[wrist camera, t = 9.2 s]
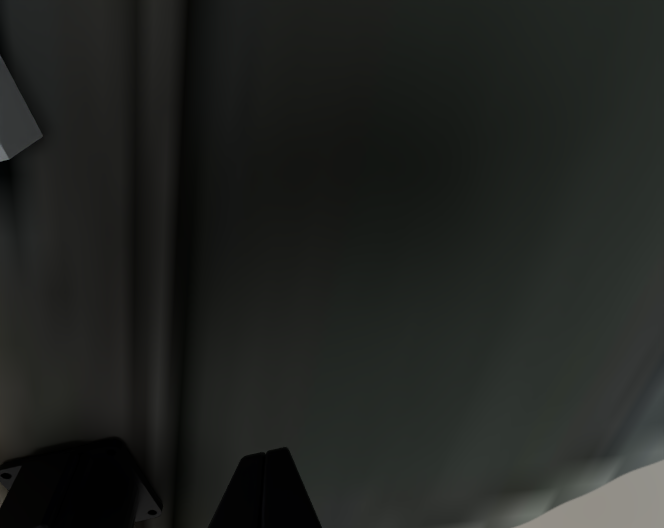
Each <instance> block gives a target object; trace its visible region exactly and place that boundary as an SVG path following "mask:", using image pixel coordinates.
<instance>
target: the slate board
mask: <svg viewBox="0 0 664 528" xmlns="http://www.w3.org/2000/svg"><path fill="white" fill-rule="evenodd" d="M42 137H43V135H42V133H41V131H40V129H39V127H38V125H37V123H36V121H35V119H34V118H33V116H32V114H31V112H30V110H29V108H28V106H27V104H26V103H25V101H24V99H23V97H22V95H21V93H20V91H19V89H18V87H17V86H16V84H15V82H14V80H13V78H12V76H11V74H10V72H9V70H8V69H7V67H6V65H5V63H4V61H3V59H2V57H1V55H0V161H4V160H9V159H11V158H12V157H14V156H15V155H16V154H18V153H19V152H21V151H22V150H24V149H25V148H27V147H28V146H30V145H31V144H33V143H34V142H36V141H37V140H39V139H40V138H42Z"/></svg>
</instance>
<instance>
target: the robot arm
mask: <svg viewBox="0 0 664 528" xmlns="http://www.w3.org/2000/svg"><path fill="white" fill-rule="evenodd" d="M0 482H1V483H2V484H3V485H4V486H5V488H6V489H7V490H8V491H9V492H8V494H7V496H6V497H5V499H4V501H3V503H2V505H1V507H0V528H133V526H134V522H137V521H142V520H146V519H151V518H155V517H158V516H160V515H161V513H162V508H163V505H162V503H161V501H160V500H159V498H158V497H157V495H156V494H155V492H154V491H153V489H152V488H151V486H150V485H149V483H148V482H147V480H146V479H145V477H144V475H143V474H142V472H141V471H140V469H139V468H138V466H137V465H136V463H135V462H134V460H133V459H132V457H131V456H130V454H129V453H128V451H127V450H126V448H125V447H124V445H123V444H122V443H121V442H120V441H118V440H107V441H102V442H98V443H94V444H89V445H85V446H80V447H76V448H71V449H67V450H62V451H58V452H53V453H49V454H44V455H40V456H35V457H31V458H26V459H22V460H17V461H13V462H8V463H4V464H2V465H1V466H0ZM208 528H322V526H321V524H320V522H319V519H318V517H317V515H316V512H315V510H314V508H313V505H312V503H311V501H310V498H309V496H308V494H307V491H306V489H305V487H304V484H303V482H302V479H301V477H300V475H299V472H298V470H297V468H296V465H295V463H294V461H293V458H292V456H291V454H290V451H289V449H288V448H287V447H283V448H278V449H274V450H269V451H268V452H267V453H266V454H265V453H263V452H260V453H256V454H251V455H247V456H244V457H243V458H242V459H241V460H240V462H239V464H238V466H237V469H236V471H235V473H234V475H233V477H232V479H231V481H230V483H229V485H228V487H227V489H226V491H225V493H224V495H223V498H222V500H221V502H220V504H219V506H218V508H217V510H216V512H215V514H214V516H213V518H212V520H211V522H210V524H209V527H208Z"/></svg>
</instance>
